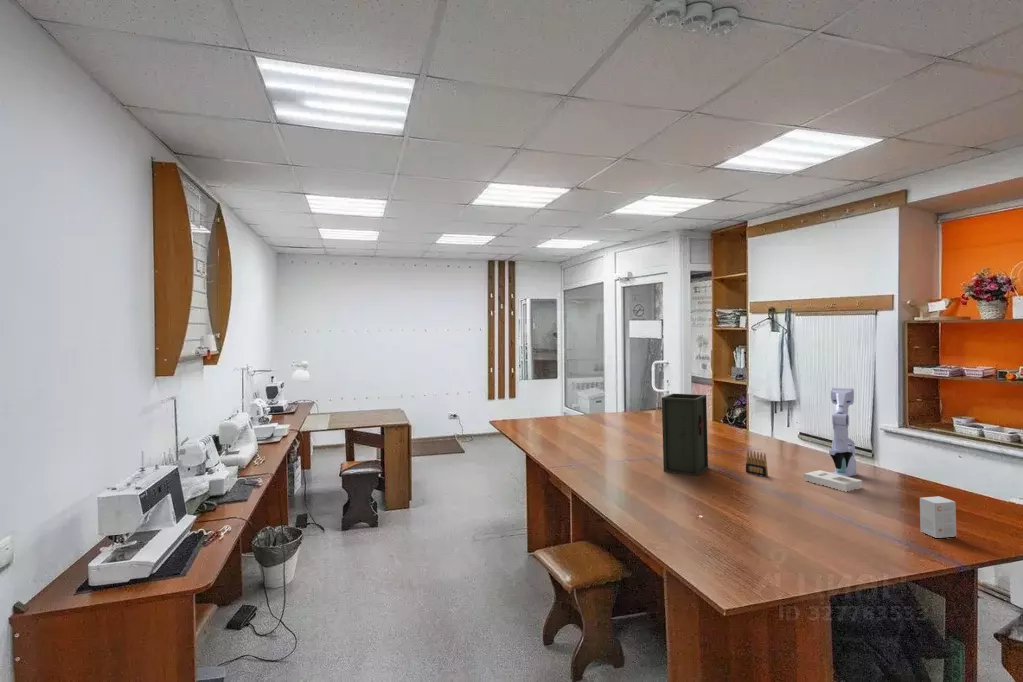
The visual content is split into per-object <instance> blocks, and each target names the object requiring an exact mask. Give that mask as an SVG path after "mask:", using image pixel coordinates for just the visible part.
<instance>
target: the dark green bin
mask: <svg viewBox="0 0 1023 682" xmlns="http://www.w3.org/2000/svg"><path fill="white" fill-rule="evenodd" d="M707 403H708V402H707V395H706V394H690V393H671V394H668V395H665V396H663V397H661V421H662V424H661V425H662V453H663V454H662V457H663V462H662V463H663V464H662V465H663V472H666V471H670V472H669V473H673V472H677V473H676V474H680V473H682V474H681V475H687V474H689V475H688V476H694V475H697V476H696V477H700V476H701V475H700V474H701V473H702V472H703V473H704V472H705V471H706V470H708V468H709V450H708V412H707V411H708V410H707ZM703 473H702V474H703Z"/></svg>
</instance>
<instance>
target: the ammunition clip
mask: <svg viewBox="0 0 1023 682" xmlns="http://www.w3.org/2000/svg"><path fill="white" fill-rule="evenodd" d="M767 462H768V461H767V454H766V453H765V452H764V453H763V452H762V451H761V452H760V453H759V451H752V450H750V451H749V449H747V450H746V462H745V473H746V472H748V474H751V473H752V475H755V474H757V475H756V476H760V475H762V477H765V476H766V477H768V476H769V472H768V466H767V465H768V463H767Z"/></svg>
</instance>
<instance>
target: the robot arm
mask: <svg viewBox="0 0 1023 682" xmlns="http://www.w3.org/2000/svg"><path fill="white" fill-rule="evenodd" d="M830 400H831V402H832V404H833V405H834V407H833V414H832V417H831V424H832V430H833V439H832V441H831V449H829V451H828V454H829V455H830V457H831V459H832V461H833V463H834V467H835V468H834V469H835V470H834V471H832V472H830V473H834V474H838V475H842V476H846V477H852V476H856V475H859V473H857V461H856V460H857V459H856V458H855V457H856V445H855V444H856V443H855V442H854V440H852V439H851V438H850V437H849V425H850V415H849V406H852V405H854V403H855V390H854V388H853V387H850V388H849V387H847V388H846V387H831V388H830ZM843 457H845V458H846V473H838V472H836V468H837V469H841V467H842V460H843Z"/></svg>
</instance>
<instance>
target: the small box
mask: <svg viewBox="0 0 1023 682" xmlns="http://www.w3.org/2000/svg"><path fill="white" fill-rule="evenodd" d="M956 506H957V504H956V501H954V500H952V499H949V498H946V497H943V496H938V495H937V496H927V497H926V496H925V497H919V518H920V519H919V521H920V522H919V523H920V524H919V525H920V533H921V532H924V533H926V534H928V535H931V536H933V537H935V538H942V537H954V536H956V537H957V513H956V512H957V510H956V509H957V507H956Z"/></svg>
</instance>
